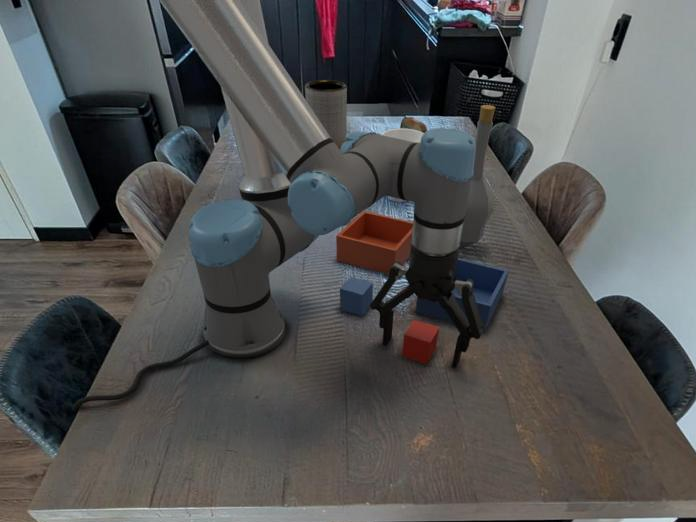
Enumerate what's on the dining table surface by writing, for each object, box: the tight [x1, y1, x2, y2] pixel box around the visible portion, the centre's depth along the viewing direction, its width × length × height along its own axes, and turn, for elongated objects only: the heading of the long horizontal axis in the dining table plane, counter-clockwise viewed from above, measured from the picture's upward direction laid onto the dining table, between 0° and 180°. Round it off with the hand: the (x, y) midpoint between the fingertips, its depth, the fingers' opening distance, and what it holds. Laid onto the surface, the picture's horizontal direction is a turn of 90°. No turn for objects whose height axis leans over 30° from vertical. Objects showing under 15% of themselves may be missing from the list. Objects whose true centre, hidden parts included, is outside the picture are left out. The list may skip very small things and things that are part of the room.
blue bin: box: [414, 257, 510, 333], centre depth 98 cm, size 15×15×6 cm
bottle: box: [459, 104, 496, 248], centre depth 106 cm, size 11×11×30 cm
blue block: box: [339, 276, 374, 317], centre depth 97 cm, size 5×5×5 cm
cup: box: [381, 127, 424, 203], centre depth 131 cm, size 12×12×16 cm
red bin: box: [335, 210, 413, 275], centre depth 111 cm, size 15×15×6 cm
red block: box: [401, 319, 440, 365], centre depth 87 cm, size 5×5×5 cm
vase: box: [304, 79, 348, 150], centre depth 123 cm, size 10×10×28 cm
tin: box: [399, 116, 428, 133], centre depth 162 cm, size 15×3×8 cm, turn 25°
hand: (420, 352), depth 89 cm, fingers open, 13 cm apart
